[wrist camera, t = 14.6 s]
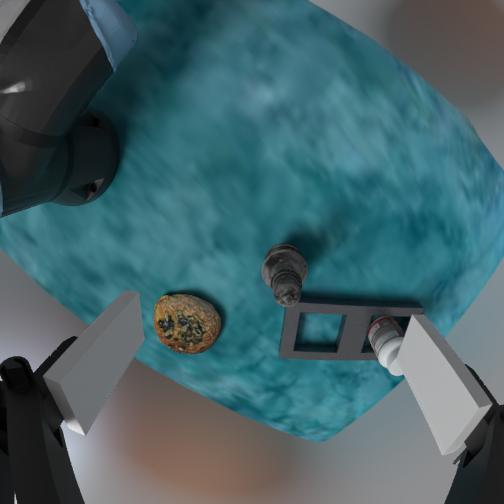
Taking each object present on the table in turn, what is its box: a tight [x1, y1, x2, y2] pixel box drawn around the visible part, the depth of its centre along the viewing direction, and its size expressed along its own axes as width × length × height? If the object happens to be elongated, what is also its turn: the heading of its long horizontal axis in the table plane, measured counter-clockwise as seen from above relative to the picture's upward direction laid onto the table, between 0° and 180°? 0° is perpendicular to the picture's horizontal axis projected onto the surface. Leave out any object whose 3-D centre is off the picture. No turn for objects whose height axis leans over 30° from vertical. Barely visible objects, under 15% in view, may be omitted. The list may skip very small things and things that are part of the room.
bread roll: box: [154, 294, 221, 354], centre depth 42 cm, size 11×11×5 cm
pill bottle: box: [367, 316, 405, 376], centre depth 38 cm, size 5×5×10 cm
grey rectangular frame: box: [279, 296, 424, 360], centre depth 42 cm, size 22×10×2 cm, turn 86°
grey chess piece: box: [262, 244, 308, 307], centre depth 34 cm, size 6×6×12 cm
